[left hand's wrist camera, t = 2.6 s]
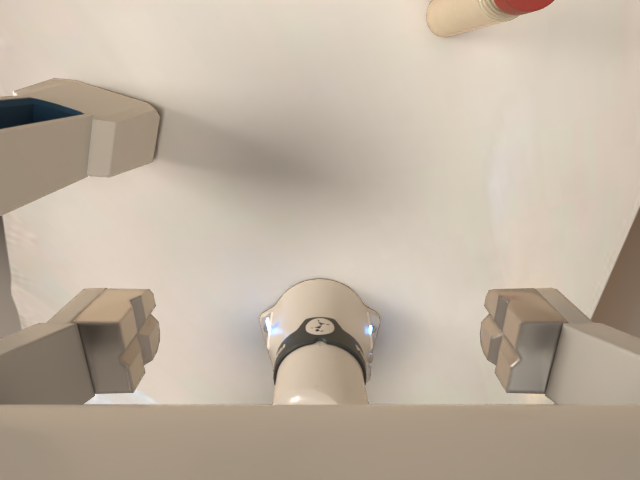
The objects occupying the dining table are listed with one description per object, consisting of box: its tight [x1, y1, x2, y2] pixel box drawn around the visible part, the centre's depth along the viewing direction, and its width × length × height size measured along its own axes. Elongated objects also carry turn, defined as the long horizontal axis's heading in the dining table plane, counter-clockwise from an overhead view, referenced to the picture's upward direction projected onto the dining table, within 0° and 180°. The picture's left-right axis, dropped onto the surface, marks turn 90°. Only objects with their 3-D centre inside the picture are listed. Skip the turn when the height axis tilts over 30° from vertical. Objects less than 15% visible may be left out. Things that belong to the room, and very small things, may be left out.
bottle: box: [427, 0, 519, 37], centre depth 40 cm, size 5×5×22 cm
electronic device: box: [0, 78, 160, 216], centre depth 41 cm, size 12×8×30 cm, turn 73°
